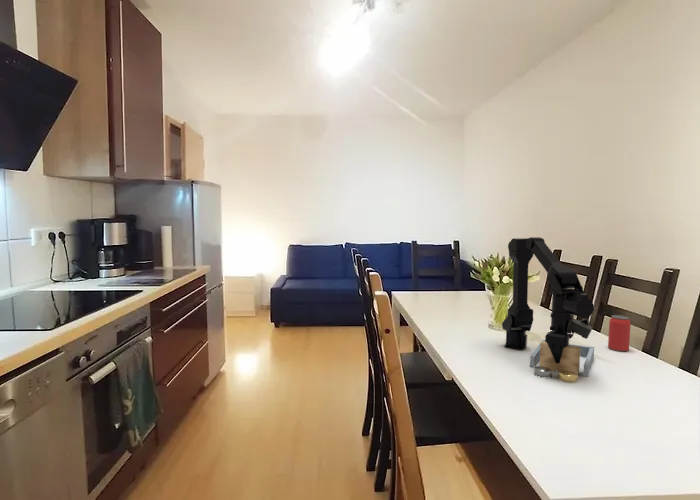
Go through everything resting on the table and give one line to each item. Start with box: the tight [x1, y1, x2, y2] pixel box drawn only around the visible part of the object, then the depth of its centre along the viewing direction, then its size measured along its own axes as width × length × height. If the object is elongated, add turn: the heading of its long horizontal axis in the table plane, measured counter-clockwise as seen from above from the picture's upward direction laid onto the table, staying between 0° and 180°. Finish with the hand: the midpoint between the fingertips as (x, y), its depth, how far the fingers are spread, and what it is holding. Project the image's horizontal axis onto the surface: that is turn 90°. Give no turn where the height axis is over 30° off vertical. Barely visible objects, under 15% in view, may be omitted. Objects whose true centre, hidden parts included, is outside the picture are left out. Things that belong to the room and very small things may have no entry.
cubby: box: [529, 339, 595, 378], centre depth 151 cm, size 16×22×4 cm
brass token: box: [558, 371, 579, 384], centre depth 135 cm, size 5×5×2 cm
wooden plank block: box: [539, 340, 581, 376], centre depth 143 cm, size 11×3×8 cm, turn 58°
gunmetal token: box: [533, 365, 553, 379], centre depth 138 cm, size 5×5×2 cm
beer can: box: [607, 314, 631, 352], centre depth 165 cm, size 7×7×12 cm
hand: (559, 359), depth 143 cm, fingers open, 7 cm apart
